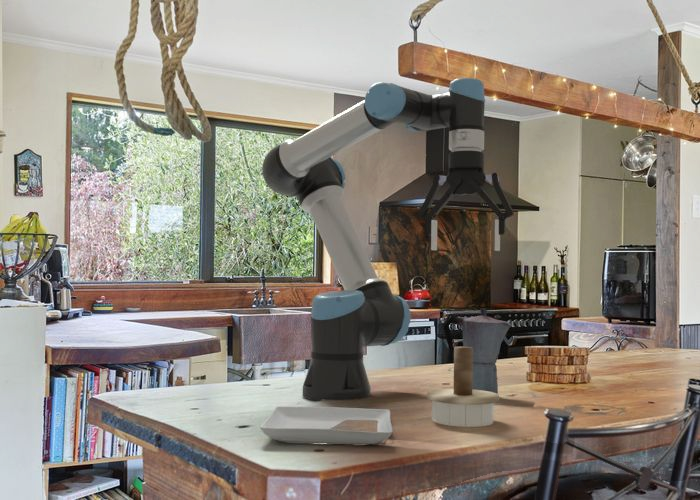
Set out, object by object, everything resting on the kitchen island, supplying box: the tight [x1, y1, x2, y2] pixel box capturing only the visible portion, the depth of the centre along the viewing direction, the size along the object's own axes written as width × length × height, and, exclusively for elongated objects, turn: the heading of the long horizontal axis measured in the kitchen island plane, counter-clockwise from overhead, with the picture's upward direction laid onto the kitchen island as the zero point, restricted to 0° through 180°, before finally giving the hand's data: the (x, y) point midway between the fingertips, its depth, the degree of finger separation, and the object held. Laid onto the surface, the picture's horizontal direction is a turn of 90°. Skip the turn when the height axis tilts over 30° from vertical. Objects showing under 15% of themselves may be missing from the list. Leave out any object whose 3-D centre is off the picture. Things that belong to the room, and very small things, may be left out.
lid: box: [426, 346, 500, 405], centre depth 143 cm, size 13×13×9 cm
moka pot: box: [443, 307, 513, 395], centre depth 177 cm, size 10×15×20 cm, turn 78°
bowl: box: [431, 400, 495, 428], centre depth 143 cm, size 11×11×5 cm
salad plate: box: [259, 406, 394, 445], centre depth 134 cm, size 21×21×3 cm
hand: (465, 250), depth 168 cm, fingers open, 13 cm apart
